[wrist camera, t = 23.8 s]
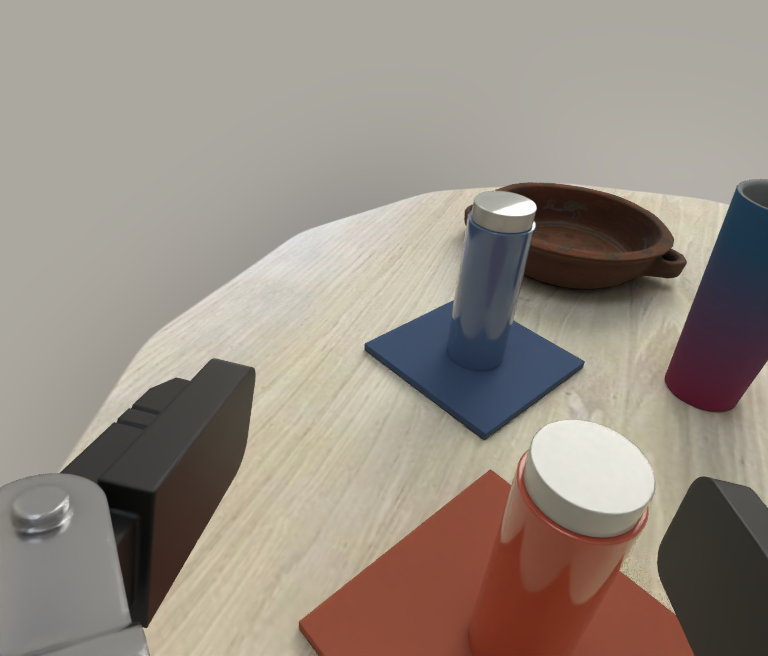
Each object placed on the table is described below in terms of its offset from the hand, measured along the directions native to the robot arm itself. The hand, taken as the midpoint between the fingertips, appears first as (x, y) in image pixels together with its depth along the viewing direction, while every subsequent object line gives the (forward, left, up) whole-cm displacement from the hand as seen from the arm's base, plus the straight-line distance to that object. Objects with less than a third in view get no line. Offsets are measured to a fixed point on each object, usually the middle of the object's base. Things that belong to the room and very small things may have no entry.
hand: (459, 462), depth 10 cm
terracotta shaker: (+8, 0, -18) cm, 20 cm away
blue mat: (+23, +15, -19) cm, 33 cm away
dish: (+43, +20, -19) cm, 51 cm away
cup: (+34, +2, -19) cm, 39 cm away
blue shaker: (+23, +15, -18) cm, 33 cm away
